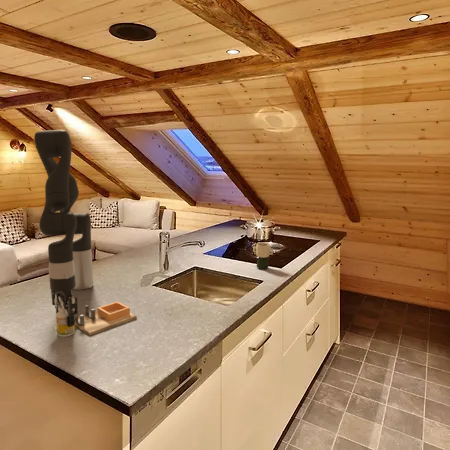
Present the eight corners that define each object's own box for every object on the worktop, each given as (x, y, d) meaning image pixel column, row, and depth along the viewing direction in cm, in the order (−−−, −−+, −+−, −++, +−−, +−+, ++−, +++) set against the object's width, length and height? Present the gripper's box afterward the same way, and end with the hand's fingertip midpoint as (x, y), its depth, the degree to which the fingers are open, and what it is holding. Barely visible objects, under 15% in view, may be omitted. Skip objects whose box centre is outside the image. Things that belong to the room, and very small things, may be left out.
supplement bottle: (71, 337, 118) (69, 309, 116) (54, 337, 118) (52, 309, 116) (77, 329, 123) (76, 302, 122) (61, 329, 123) (59, 302, 122)
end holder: (97, 314, 133) (97, 307, 133) (117, 307, 139) (117, 301, 138) (109, 321, 128) (109, 314, 127) (129, 314, 133) (129, 307, 133)
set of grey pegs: (71, 319, 129) (70, 310, 128) (88, 314, 133) (87, 305, 132) (81, 326, 124) (80, 316, 123) (98, 320, 128) (98, 310, 127)
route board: (70, 322, 129) (69, 319, 128) (115, 307, 142) (115, 304, 142) (89, 335, 119) (89, 332, 119) (136, 318, 132) (136, 315, 132)
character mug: (274, 267, 195) (275, 244, 193) (270, 271, 189) (270, 247, 187) (255, 265, 200) (256, 241, 198) (250, 268, 194) (251, 244, 191)
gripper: (40, 271, 119) (44, 319, 122) (60, 282, 110) (64, 333, 113) (63, 267, 124) (67, 312, 128) (84, 276, 115) (87, 325, 118)
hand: (65, 322), depth 120 cm, fingers open, 7 cm apart
